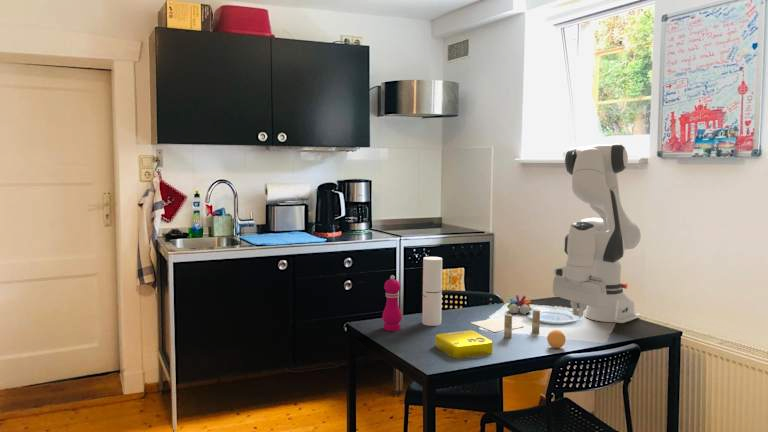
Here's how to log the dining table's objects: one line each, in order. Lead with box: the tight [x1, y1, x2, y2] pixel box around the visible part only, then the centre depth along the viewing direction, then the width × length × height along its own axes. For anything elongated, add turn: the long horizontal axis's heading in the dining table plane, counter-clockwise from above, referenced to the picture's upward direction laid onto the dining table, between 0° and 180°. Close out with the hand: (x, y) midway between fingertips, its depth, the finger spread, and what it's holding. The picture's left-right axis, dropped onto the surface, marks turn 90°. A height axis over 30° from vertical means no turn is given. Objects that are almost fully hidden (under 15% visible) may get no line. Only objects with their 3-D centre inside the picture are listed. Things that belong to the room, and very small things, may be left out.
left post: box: [503, 313, 513, 339], centre depth 236 cm, size 3×3×8 cm
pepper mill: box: [381, 274, 403, 332], centre depth 245 cm, size 7×7×20 cm
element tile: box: [435, 330, 494, 359], centre depth 223 cm, size 15×15×5 cm
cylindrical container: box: [421, 256, 443, 327], centre depth 252 cm, size 7×7×25 cm
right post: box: [531, 309, 541, 334], centre depth 242 cm, size 3×3×8 cm
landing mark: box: [470, 317, 524, 333], centre depth 252 cm, size 14×14×1 cm
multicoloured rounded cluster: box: [506, 294, 532, 315], centre depth 270 cm, size 8×10×7 cm
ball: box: [546, 329, 567, 349], centre depth 225 cm, size 6×6×6 cm
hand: (577, 315), depth 215 cm, fingers closed
